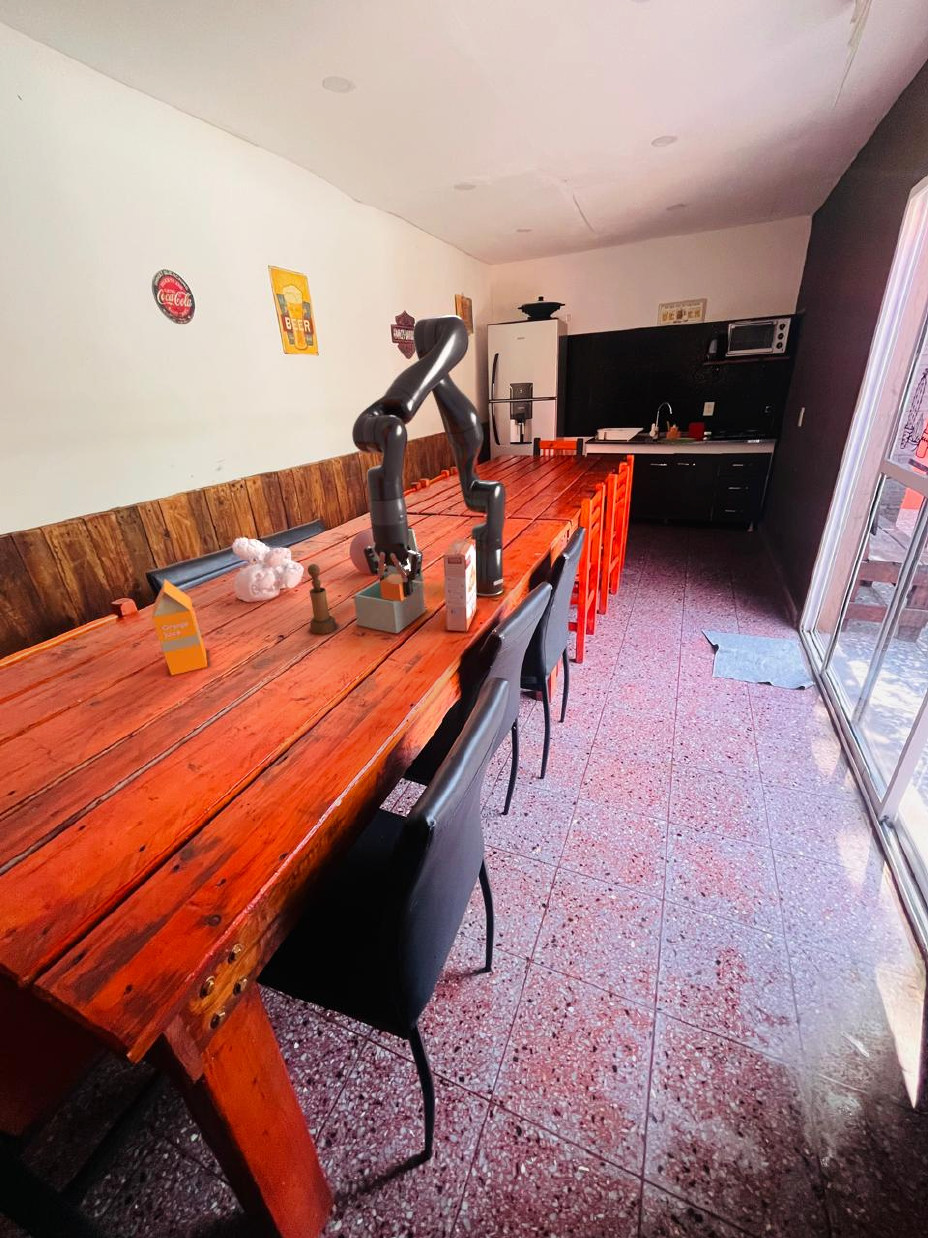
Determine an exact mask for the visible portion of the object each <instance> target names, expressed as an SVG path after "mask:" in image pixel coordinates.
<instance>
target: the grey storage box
mask: <svg viewBox="0 0 928 1238" xmlns="http://www.w3.org/2000/svg"><path fill="white" fill-rule="evenodd" d="M353 601H354V602H353V603H354V606H355V607H354V608H355V615H356V622H357V626H360V627H364V628H369V629H373V630H378V631H383V632H387V633H392V634H396V635H397V634H398V633H400V632H401V631H402V630H404V629H405V628H406V627H408V626H409V625H410V624H411V623H413V622H414V621H415V620H417V619H418V618H419V617H420V616H422V615H423V614H424V613H426V603H425V601H426V600H425V587H424V582H420V581H414V580H413V593H412V595H411V596H409V597H407V598H405V599H404V600H403V601H401V602H400V601H394V600H389V599H383V598H382V594H381V587H380V579H379V580H377V581H375V582H374V583H372V584H370V585H369V586H367V587H365V588H363V589H362V590H360V591H359V592H356V593H355V594H353Z"/></svg>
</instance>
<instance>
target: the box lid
mask: <svg viewBox="0 0 928 1238" xmlns="http://www.w3.org/2000/svg"><path fill="white" fill-rule="evenodd" d="M408 531H409V541H408V544H409V547H410V548H411V550H412V551H414V552H417V553H418V552H419V550H418V544H417V538H416V535H415V529H413V528H412V527H411V526H408ZM408 560H409V563H410V565H411V562H410V557H408ZM403 566H404V564H403V565H402V567H403ZM410 569H411V567H410ZM391 574H397V575H401V574H400V573H398V571H397V569H396V567H394V566H390V567H389V572H388V574H387V575H388V576H390V575H391ZM413 581H415V582H421V583H424V581H425V579H424V574H423V568H421V573H420V576H419V577H418V578H416V579H415V580H413Z"/></svg>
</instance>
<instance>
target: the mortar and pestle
mask: <svg viewBox="0 0 928 1238" xmlns="http://www.w3.org/2000/svg"><path fill="white" fill-rule="evenodd" d="M307 573H308V574H309V576H310V577H311V578H312V581H311V585H312V588H311V589H310V590H309V596H310V600H311V606H312V610H313V611H312V612H313V618H312V619H311V620H310V622H309V624H310V630H311V633H314V634H317V635H322V634H323V635H324V634H329V633H332V632H334V631H335V630H336V629H337V622H336V618H335V617H334V616H332V615H330V609H329V604H328V597H327V591H326V588H325V587H321V584H322V583H321V582H322V581H321V580H320V579H319V576H320V573H321V569H320V566H319V565H318V564H315V563H312V564H309V565H308V567H307Z"/></svg>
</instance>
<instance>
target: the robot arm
mask: <svg viewBox="0 0 928 1238" xmlns="http://www.w3.org/2000/svg"><path fill="white" fill-rule="evenodd" d="M468 331H469V330H468V328H467V325H466V323H465V321H464V320H463V319H462V317H460V316H459V315H455V314H448V315H447V314H446V315H445V314H444V315H440V316H433V317H432V316H431V317H427V318H422V319H419V320H418V321H417V322H416V323H415V324H414V326H413V332H412V338H413V345H414V350H415V354H416V357H417V359H418V360H416V361H415V362H414V363H412V364H411V365H409V366H408V367H407V368H405V369H404V370H402V372H400V373H399V374H398V375H397V376H396V377H395V379H394V380H393V381H392V382H391V384H390V386H389V387H388V388H387V389H386V391H385V392H384V393H383V396H382V397H380V398H379V399H376V401H375V400H374V402H372V404H371V405H369V406H367V407H366V408H365V409H364V410H363V411H362V412H361V413H360V414H359V415H358V416H357V418H356V419H355V421H354V423H353V426H352V431H351V437H352V442H353V444H354V446H355V447H356V449H358V450H359V451H360V452H362V453H365V454H375V455H382V461H381V464H380V465H376V466H375V465H374V466H372V467H370V468H369V469H368V470H367V471H366V484H367V491H368V498H369V499H368V502H369V504H368V505H369V506H368V507H369V518H370V526H371V529H372V534H373V541H374V542H375V546H372V545H371V546H369V547H367V548H365V549H364V554H365V557H366V560H367V563H368V566H369V569H370V572H371V574H373V575H372V576H377V578H379V580H380V581H382V580H383V579H385V578H387V577H388V575H387V574H388V572H389V567H390V566H394V567H396V569H397V571H398V573H400V574H401V577H402V579H403V589H404V597H409V596H411V595H412V593H413V581H414V580H415V579H416V578H418V577H419V576H420V573H421V569H422V566H423V565H422V564H423V557H424V553H423V552H422V550H421V551H420V550H418V553H417V552H414V551H412V550H411V548H410V547H409V544H408V541H409V531H408V527H409V522H408V521H409V520H408V511H407V509H408V508H407V504H406V500H405V493H404V482H403V472H404V464H405V459H406V452H407V447H408V438H409V437H408V430H407V427H406V425H408V424H409V423H410V422H411V421H413V419H414V418H415V416H416V414H417V412H419V410H420V408H421V406H422V405H423V403H424V401H425V400H426V399H427V397H428V396H429V395H430V393H432V395H433V398H434V401H435V404H436V407H437V410H438V413H439V416H440V420H441V423H442V426H443V430H444V433H445V436H446V439H447V442H448V445H449V448H450V450H451V454H452V457H453V460H454V461H453V462H454V464H455V467H456V471H457V475H458V480H459V485H460V490H461V494H462V499H463V502H464V505H465V507H466V509H467V510H468V511H469V512H471V513H475V514H481V515H482V514H483V515H486V518H485V522H481V523H478V524H475V525H473V526H471V529H470V539H474V540H476V596H478V597H485V598H488V597H489V598H490V597H496V596H499V595H501V594H502V593H503V592H504V577H503V576H504V528H505V520H506V519H505V518H506V515H505V514H506V502H507V501H506V498H507V497H506V488H505V486H504V484H503V483H502V482H501V481H499V480H490V479H489V480H487V479H480V477H479V475H478V472H477V471H478V470H477V465H476V464H477V460H478V457H479V455H480V452H481V450H482V446H483V445H484V444H483V443H484V438H485V437H484V431H483V426H482V422H481V418H480V415H479V412H478V410H477V408H476V406H475V405H474V403H473V402H472V401H471V400H470V398H468V396H467V395H466V394H465V393H464V392H463V391H462V390H461V389H460V387H459V386H458V385H457V384H456V383H455V382H454V381H453V379H452V377H451V375H450V374H449V373H450V372H451V371H452V370H453V369H454V368H455V367H456V366H457V365H459V363H461V361H462V360H463V359H464V358H465V356H466V354H467V351H468V349H469V341H470V340H469V332H468ZM377 555H378V556H379V558H380V560H378V557H377ZM408 557H410V562H411V565H410V563H409V560H408ZM403 564H404V566H403V567H402V565H403ZM374 565H375V566H374ZM410 567H411V569H410ZM374 574H376V575H374ZM380 587H381V586H380Z"/></svg>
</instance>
